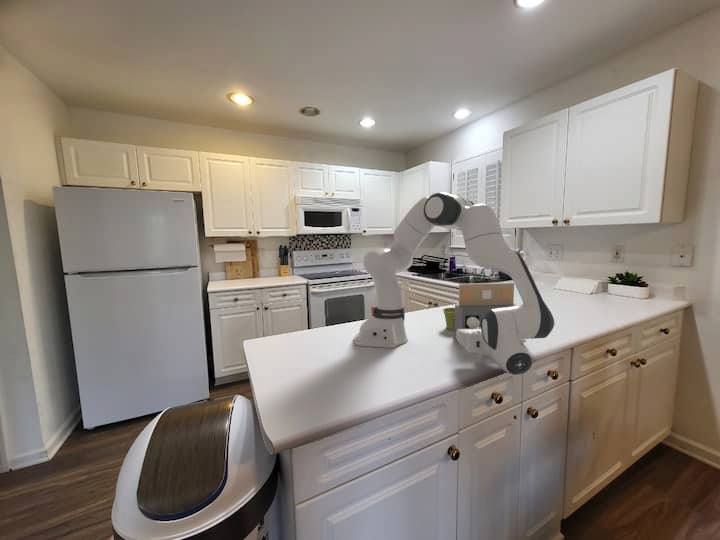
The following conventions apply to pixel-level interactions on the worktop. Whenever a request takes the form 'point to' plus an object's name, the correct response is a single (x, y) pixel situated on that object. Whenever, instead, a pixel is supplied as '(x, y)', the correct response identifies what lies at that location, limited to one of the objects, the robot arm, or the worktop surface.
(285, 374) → the worktop surface
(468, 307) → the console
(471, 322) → the left button
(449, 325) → the plant pot
